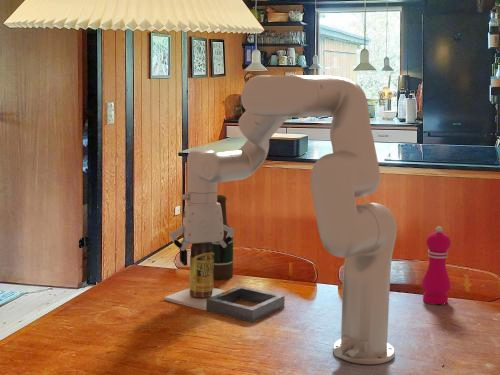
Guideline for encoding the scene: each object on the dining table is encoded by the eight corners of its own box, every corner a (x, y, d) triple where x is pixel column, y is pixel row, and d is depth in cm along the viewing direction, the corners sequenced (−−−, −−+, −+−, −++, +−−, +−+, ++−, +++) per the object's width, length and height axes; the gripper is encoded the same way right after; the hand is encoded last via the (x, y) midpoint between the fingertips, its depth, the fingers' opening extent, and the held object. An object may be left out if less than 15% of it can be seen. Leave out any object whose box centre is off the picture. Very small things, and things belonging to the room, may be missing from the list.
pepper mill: (415, 301, 171) (419, 226, 169) (430, 295, 176) (433, 222, 174) (440, 307, 166) (444, 230, 163) (454, 301, 171) (459, 226, 168)
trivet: (206, 310, 162) (206, 307, 162) (164, 299, 170) (164, 296, 170) (239, 296, 173) (239, 293, 173) (198, 287, 181) (198, 284, 181)
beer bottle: (222, 271, 198) (222, 192, 194) (238, 277, 192) (239, 196, 188) (201, 275, 193) (201, 195, 189) (217, 281, 187) (217, 198, 183)
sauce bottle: (197, 300, 167) (196, 224, 164) (184, 294, 172) (184, 220, 169) (218, 296, 171) (218, 221, 168) (206, 290, 176) (206, 217, 173)
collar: (252, 322, 154) (252, 308, 153) (206, 310, 162) (206, 297, 161) (284, 307, 165) (284, 294, 165) (239, 296, 173) (239, 284, 173)
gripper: (172, 202, 161) (173, 269, 164) (239, 199, 167) (238, 264, 170) (166, 197, 168) (166, 262, 171) (230, 194, 174) (229, 257, 177)
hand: (202, 263), depth 170 cm, fingers open, 9 cm apart
